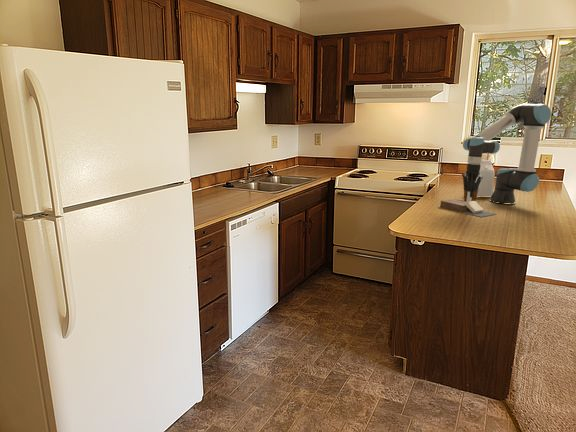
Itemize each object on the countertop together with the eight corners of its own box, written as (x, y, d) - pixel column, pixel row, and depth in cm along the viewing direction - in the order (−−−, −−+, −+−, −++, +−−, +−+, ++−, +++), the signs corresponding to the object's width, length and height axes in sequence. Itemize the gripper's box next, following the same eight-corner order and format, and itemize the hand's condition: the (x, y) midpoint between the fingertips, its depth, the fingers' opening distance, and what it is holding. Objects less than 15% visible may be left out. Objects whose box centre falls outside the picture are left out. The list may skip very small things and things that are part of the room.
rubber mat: (478, 210, 264) (478, 209, 264) (496, 214, 254) (496, 213, 254) (463, 212, 256) (463, 212, 256) (481, 217, 246) (481, 216, 246)
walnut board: (454, 204, 278) (454, 198, 277) (476, 210, 265) (477, 203, 264) (440, 206, 270) (440, 200, 269) (462, 212, 257) (462, 205, 256)
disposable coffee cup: (463, 202, 286) (465, 184, 283) (478, 204, 281) (480, 186, 278) (459, 204, 278) (462, 186, 275) (475, 206, 273) (477, 188, 270)
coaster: (472, 203, 262) (474, 200, 261) (482, 212, 258) (483, 209, 257) (464, 204, 258) (466, 201, 257) (473, 213, 254) (475, 211, 252)
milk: (486, 194, 314) (491, 159, 308) (492, 198, 303) (497, 161, 296) (469, 194, 315) (474, 158, 309) (474, 197, 304) (480, 160, 297)
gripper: (460, 162, 258) (455, 200, 264) (480, 165, 247) (474, 204, 253) (468, 162, 262) (463, 199, 268) (487, 164, 251) (482, 203, 257)
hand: (468, 202), depth 260 cm, fingers closed
